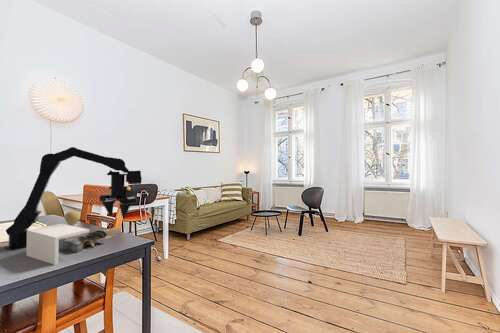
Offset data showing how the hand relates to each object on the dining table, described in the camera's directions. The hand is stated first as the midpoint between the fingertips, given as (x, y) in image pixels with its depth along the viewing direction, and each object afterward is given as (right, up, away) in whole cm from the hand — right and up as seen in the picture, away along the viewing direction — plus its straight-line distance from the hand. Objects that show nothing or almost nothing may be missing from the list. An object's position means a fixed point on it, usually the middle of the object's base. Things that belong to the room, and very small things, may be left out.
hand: (117, 216), depth 118 cm
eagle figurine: (-2, -10, -16) cm, 18 cm away
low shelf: (-8, -9, -26) cm, 29 cm away
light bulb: (-26, -9, +6) cm, 28 cm away
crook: (-2, -9, -10) cm, 14 cm away
